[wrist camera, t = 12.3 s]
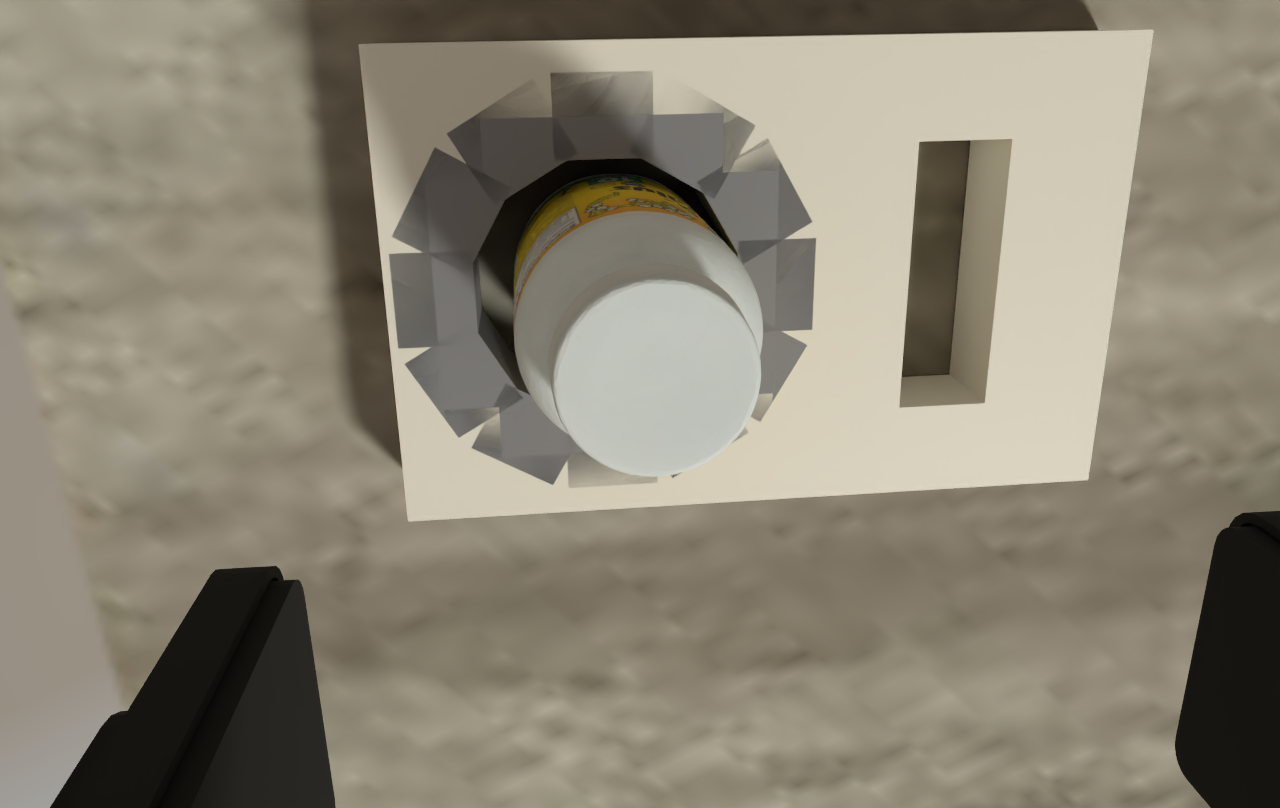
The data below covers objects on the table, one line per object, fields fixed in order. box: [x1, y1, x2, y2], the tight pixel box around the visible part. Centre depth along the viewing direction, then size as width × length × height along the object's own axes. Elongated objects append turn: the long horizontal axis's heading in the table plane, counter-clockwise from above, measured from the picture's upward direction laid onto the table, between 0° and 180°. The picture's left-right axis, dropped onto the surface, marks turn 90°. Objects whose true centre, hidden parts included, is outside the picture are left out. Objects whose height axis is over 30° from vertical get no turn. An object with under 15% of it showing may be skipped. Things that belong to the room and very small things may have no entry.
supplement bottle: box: [514, 174, 763, 477], centre depth 24 cm, size 5×5×10 cm
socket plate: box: [358, 30, 1154, 522], centre depth 27 cm, size 19×12×2 cm, turn 91°
